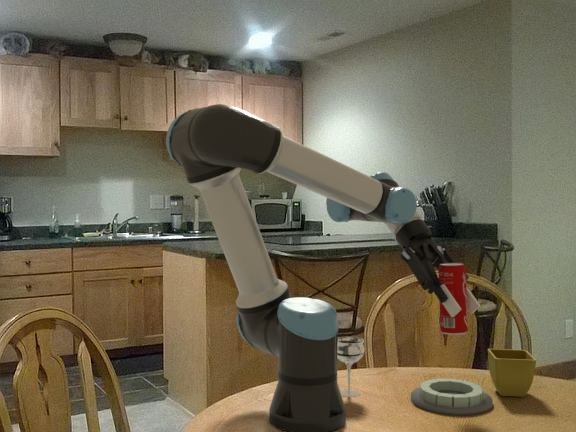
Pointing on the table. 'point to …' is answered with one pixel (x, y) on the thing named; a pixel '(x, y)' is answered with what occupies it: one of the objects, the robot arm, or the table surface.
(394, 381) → the table surface
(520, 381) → the flower pot
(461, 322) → the beverage can
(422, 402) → the can tray
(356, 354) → the wineglass
